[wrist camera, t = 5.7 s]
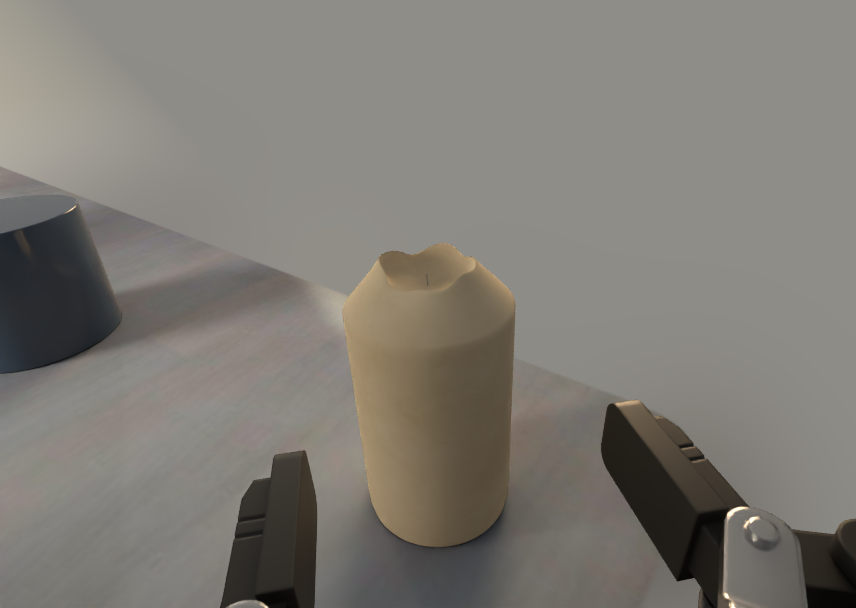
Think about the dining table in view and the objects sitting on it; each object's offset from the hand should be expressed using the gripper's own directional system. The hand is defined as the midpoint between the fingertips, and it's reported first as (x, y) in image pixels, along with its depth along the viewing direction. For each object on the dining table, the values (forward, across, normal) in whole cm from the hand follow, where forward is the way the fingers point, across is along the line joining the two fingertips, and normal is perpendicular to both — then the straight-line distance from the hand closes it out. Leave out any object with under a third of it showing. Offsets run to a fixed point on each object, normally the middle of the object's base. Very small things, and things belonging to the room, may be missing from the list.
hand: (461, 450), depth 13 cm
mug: (+22, +23, +6) cm, 32 cm away
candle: (+4, 0, +7) cm, 8 cm away
